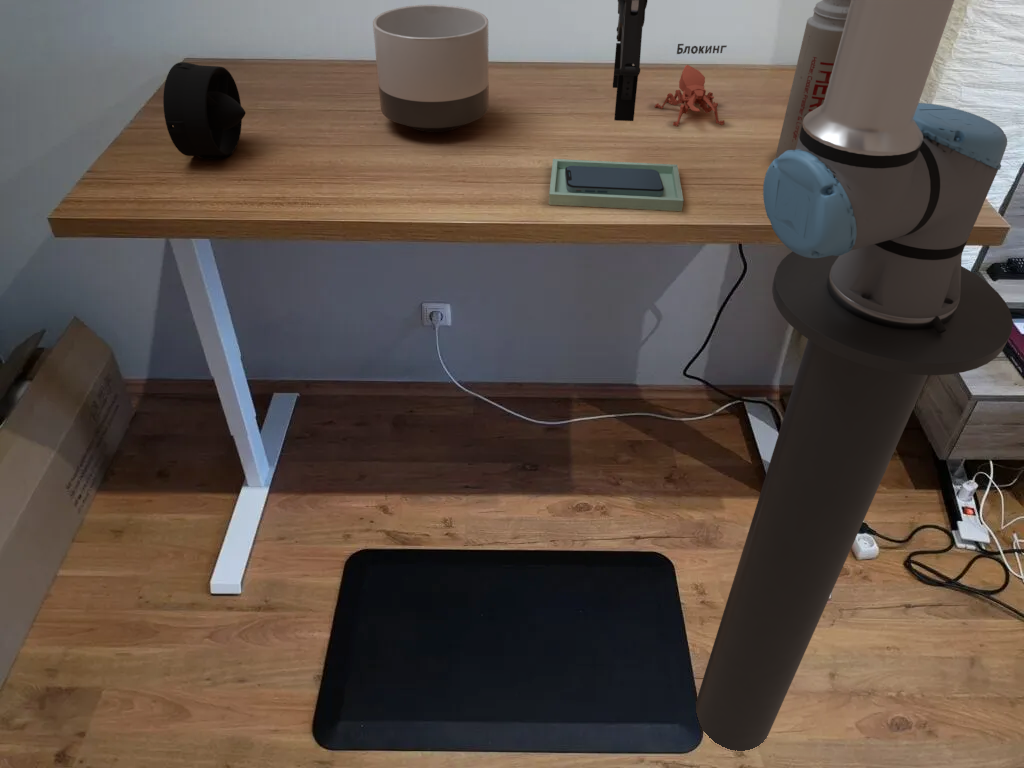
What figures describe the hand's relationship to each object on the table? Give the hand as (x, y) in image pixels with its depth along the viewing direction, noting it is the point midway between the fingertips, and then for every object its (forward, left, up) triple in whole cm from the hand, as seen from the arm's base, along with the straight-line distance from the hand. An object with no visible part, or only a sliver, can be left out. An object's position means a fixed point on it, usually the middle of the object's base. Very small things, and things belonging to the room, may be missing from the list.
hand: (622, 103), depth 120 cm
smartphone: (-3, 0, -12) cm, 13 cm away
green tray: (-3, 0, -13) cm, 13 cm away
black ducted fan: (+3, +65, -13) cm, 66 cm away
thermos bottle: (+10, -31, -13) cm, 35 cm away
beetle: (+29, -15, -13) cm, 35 cm away
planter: (+20, +32, -13) cm, 40 cm away
